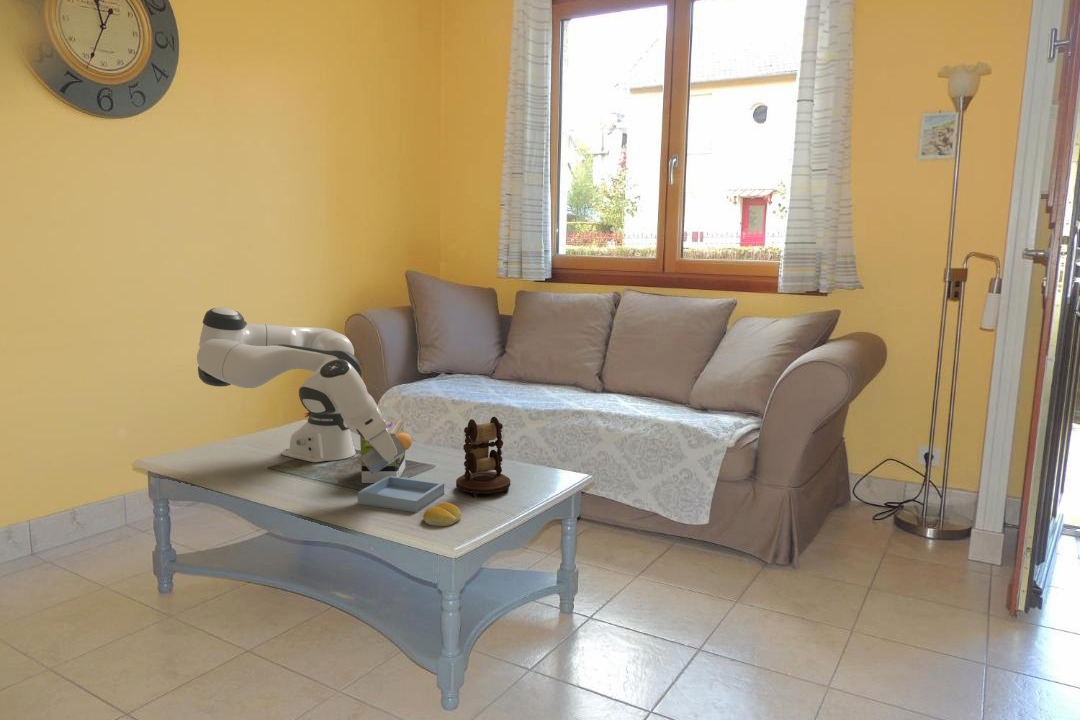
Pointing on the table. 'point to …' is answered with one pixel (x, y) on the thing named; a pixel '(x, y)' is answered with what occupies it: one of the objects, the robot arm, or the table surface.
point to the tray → (401, 493)
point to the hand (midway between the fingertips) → (386, 455)
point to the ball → (404, 440)
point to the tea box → (389, 470)
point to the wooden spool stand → (483, 459)
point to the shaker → (376, 461)
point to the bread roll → (442, 515)
